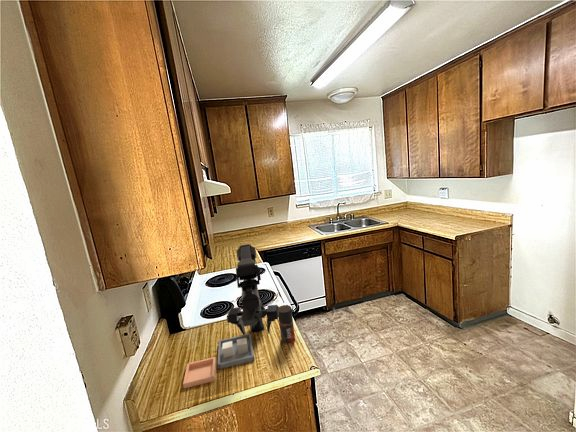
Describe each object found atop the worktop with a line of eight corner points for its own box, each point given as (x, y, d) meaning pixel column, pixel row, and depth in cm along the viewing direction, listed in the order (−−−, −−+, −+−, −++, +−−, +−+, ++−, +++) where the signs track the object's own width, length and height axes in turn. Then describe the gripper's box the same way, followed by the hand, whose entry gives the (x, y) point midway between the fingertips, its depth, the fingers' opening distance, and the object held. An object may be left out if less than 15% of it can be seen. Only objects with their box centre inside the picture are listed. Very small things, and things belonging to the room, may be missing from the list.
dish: (188, 368, 107) (187, 363, 106) (216, 362, 109) (215, 356, 109) (184, 389, 96) (182, 383, 96) (215, 381, 99) (214, 376, 98)
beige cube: (224, 351, 114) (222, 343, 113) (233, 349, 115) (232, 340, 114) (223, 357, 110) (222, 349, 109) (233, 355, 111) (232, 346, 110)
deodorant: (286, 346, 113) (282, 314, 111) (278, 340, 118) (274, 309, 116) (297, 340, 117) (294, 308, 114) (289, 334, 122) (286, 303, 119)
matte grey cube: (238, 348, 115) (236, 339, 114) (247, 346, 116) (246, 337, 115) (238, 354, 111) (237, 345, 111) (248, 351, 112) (247, 343, 111)
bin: (219, 345, 119) (218, 340, 119) (251, 338, 122) (250, 333, 122) (218, 370, 104) (217, 365, 104) (254, 361, 107) (253, 356, 106)
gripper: (219, 309, 91) (226, 350, 94) (273, 305, 90) (279, 346, 93) (228, 293, 102) (234, 330, 105) (276, 290, 101) (281, 327, 104)
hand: (256, 333), depth 102 cm, fingers open, 9 cm apart
